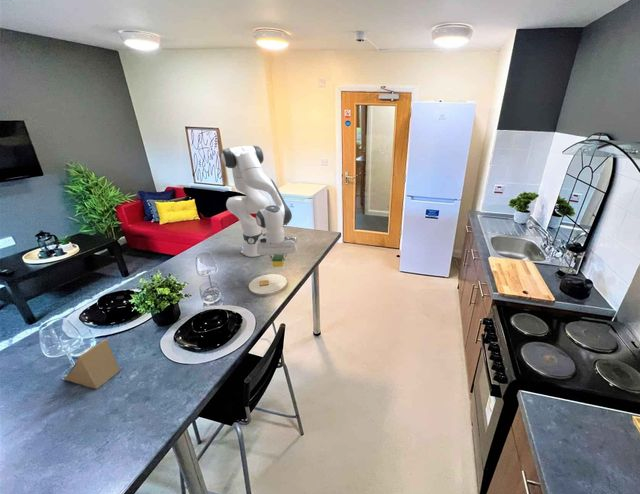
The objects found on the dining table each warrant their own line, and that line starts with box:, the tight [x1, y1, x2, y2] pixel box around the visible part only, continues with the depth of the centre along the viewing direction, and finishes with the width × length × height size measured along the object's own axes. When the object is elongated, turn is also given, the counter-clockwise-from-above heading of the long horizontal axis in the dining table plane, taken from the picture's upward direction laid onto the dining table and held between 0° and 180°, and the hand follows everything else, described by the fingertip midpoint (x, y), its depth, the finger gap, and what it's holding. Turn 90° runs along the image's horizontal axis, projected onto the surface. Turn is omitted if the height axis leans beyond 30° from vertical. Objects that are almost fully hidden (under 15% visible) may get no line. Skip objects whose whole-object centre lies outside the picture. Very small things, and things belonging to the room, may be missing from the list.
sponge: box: [271, 254, 285, 268], centre depth 155 cm, size 8×5×4 cm, turn 8°
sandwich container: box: [64, 338, 121, 390], centre depth 101 cm, size 9×15×15 cm, turn 76°
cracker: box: [260, 280, 269, 286], centre depth 158 cm, size 4×4×1 cm
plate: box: [248, 273, 288, 295], centre depth 159 cm, size 20×20×2 cm
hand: (278, 260), depth 155 cm, fingers closed on sponge, 5 cm apart
